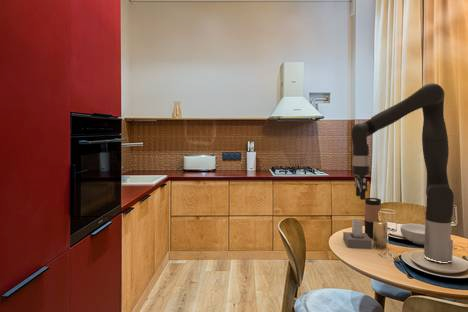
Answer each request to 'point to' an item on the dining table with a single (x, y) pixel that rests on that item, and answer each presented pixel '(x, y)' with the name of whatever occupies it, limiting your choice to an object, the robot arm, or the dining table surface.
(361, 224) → the square bit
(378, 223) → the round bit
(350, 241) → the socket block
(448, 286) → the dining table surface
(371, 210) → the travel mug
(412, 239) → the cereal bowl
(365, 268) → the dining table surface
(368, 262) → the dining table surface
